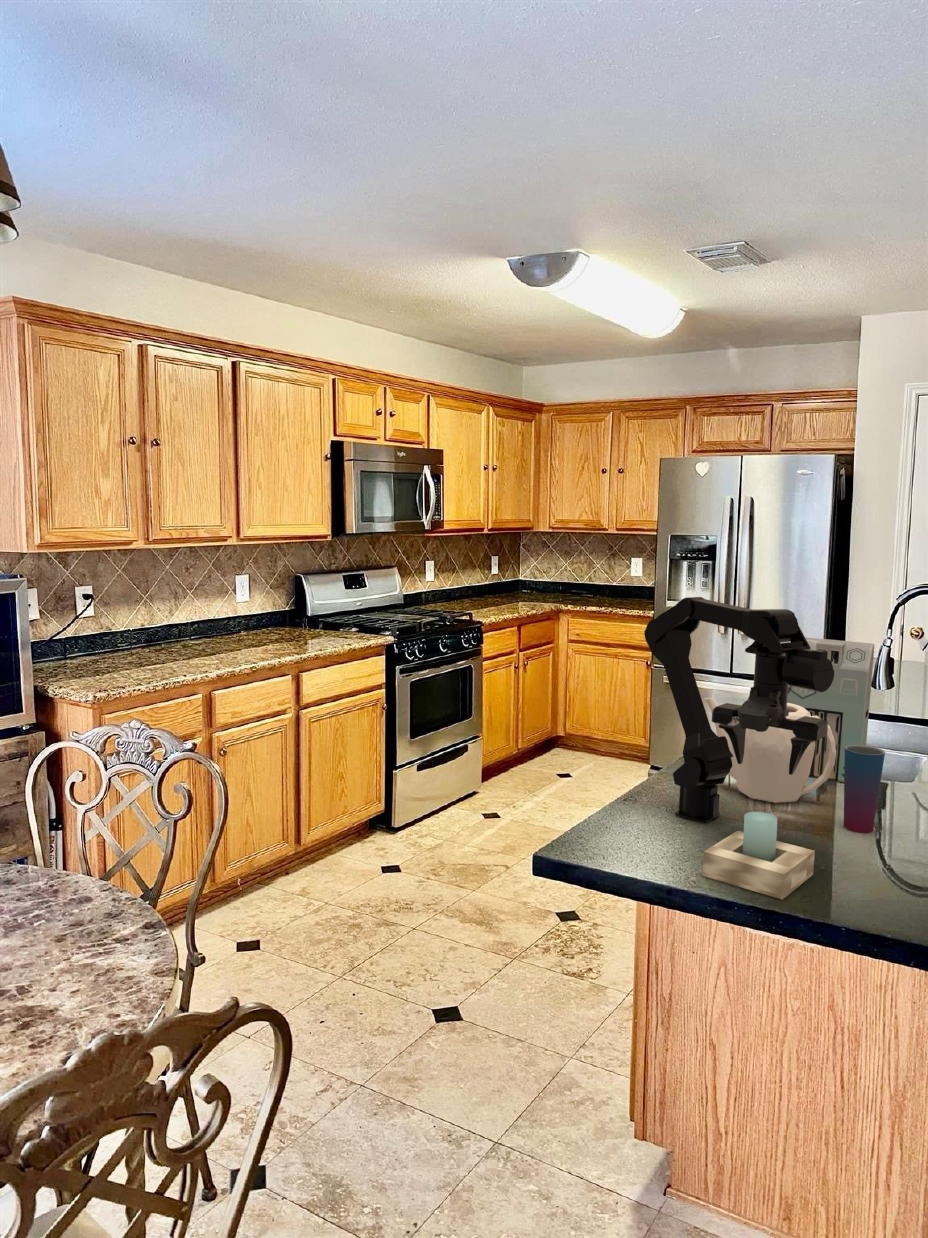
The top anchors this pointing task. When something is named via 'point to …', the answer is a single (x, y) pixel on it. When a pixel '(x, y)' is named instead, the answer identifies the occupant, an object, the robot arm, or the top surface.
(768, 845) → the peg
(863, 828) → the cup
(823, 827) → the top surface
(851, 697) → the device
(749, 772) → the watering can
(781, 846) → the socket
